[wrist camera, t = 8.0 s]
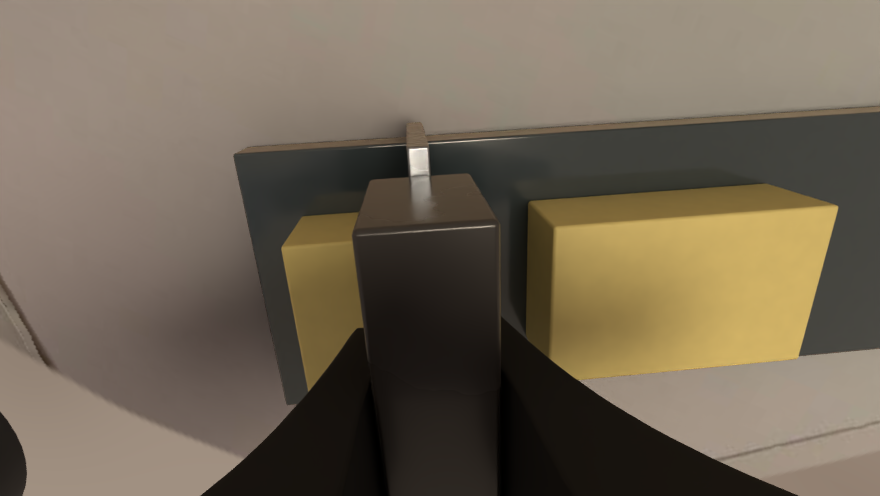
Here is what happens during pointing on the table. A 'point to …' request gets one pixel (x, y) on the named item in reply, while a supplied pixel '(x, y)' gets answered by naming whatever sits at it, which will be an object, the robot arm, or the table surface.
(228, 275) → the table surface
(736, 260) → the butter stick
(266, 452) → the robot arm
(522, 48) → the table surface
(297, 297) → the butter pat
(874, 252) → the butter board
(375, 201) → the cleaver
